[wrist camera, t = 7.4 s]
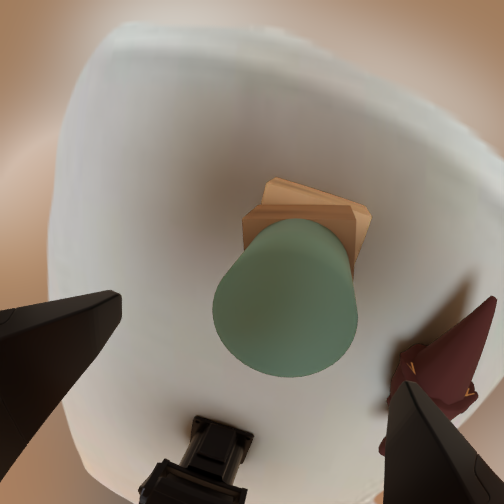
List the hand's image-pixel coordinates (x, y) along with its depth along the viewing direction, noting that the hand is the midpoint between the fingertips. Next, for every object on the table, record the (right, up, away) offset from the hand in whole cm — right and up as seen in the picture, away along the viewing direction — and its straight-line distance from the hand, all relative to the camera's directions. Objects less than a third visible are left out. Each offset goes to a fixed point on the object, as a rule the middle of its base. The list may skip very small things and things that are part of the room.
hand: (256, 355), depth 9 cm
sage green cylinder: (+2, +2, +6) cm, 6 cm away
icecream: (+14, -5, +13) cm, 20 cm away
